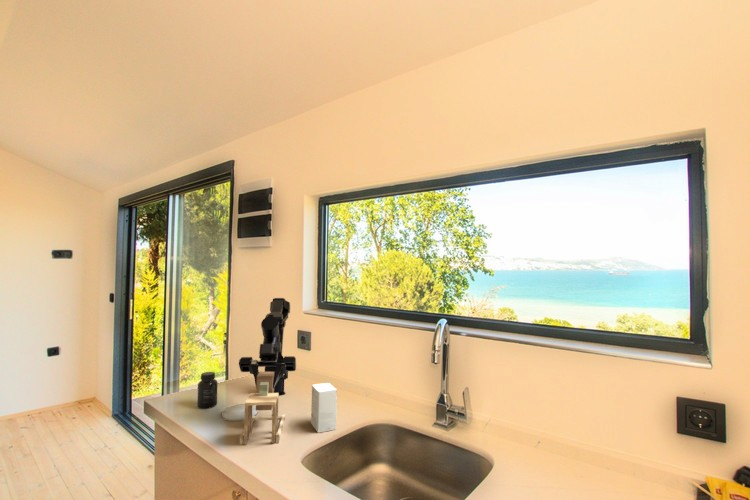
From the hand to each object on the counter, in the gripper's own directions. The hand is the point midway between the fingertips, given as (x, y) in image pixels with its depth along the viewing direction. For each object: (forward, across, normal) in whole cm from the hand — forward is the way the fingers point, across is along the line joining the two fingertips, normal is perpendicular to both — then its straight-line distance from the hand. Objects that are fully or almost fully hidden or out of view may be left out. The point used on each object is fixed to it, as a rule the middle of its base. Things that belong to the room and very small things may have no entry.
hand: (265, 387), depth 121 cm
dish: (+1, -10, +17) cm, 20 cm away
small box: (+10, +19, +8) cm, 23 cm away
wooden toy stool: (+14, 0, +4) cm, 15 cm away
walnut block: (+4, 0, +6) cm, 7 cm away
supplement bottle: (-5, -24, +24) cm, 34 cm away
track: (+11, 0, +7) cm, 13 cm away
